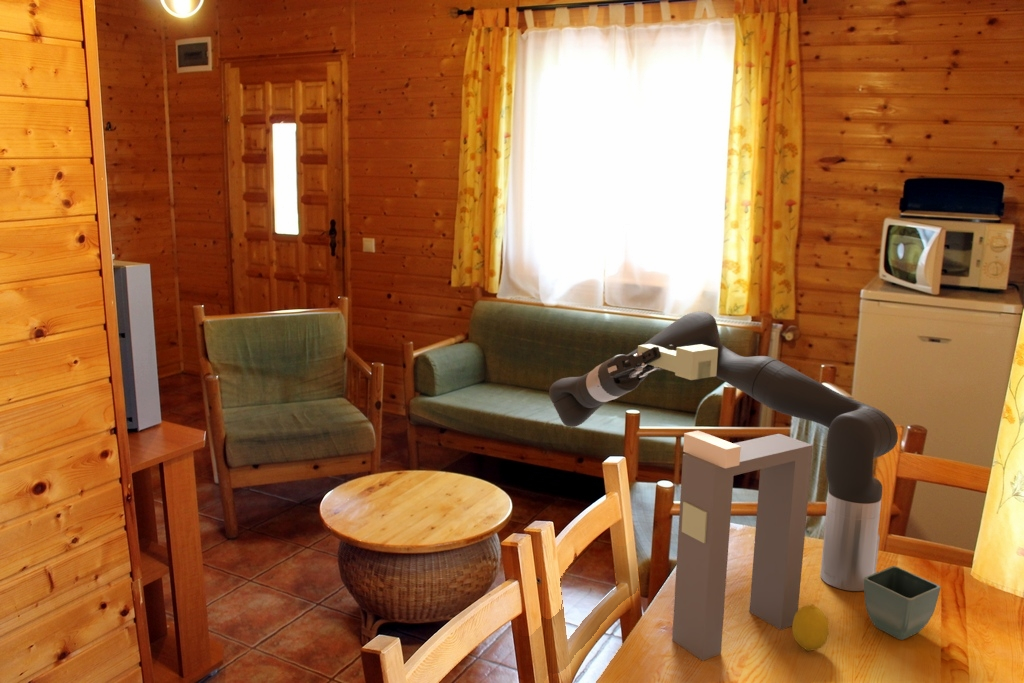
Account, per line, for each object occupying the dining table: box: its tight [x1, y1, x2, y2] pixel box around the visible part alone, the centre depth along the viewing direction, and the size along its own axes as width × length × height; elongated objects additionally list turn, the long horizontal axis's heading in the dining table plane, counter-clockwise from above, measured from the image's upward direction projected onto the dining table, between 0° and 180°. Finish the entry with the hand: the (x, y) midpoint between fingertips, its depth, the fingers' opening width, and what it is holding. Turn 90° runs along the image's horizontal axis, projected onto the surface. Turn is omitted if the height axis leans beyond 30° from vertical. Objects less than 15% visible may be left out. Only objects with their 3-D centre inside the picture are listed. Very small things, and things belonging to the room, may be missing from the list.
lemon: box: [791, 604, 830, 652], centre depth 135 cm, size 6×6×8 cm
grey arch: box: [671, 433, 814, 662], centre depth 138 cm, size 22×7×32 cm, turn 122°
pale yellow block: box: [637, 344, 718, 381], centre depth 152 cm, size 6×16×5 cm, turn 32°
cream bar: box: [682, 430, 741, 468], centre depth 130 cm, size 3×9×3 cm, turn 32°
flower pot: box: [863, 565, 942, 641], centre depth 141 cm, size 9×9×9 cm
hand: (665, 350), depth 154 cm, fingers closed on pale yellow block, 3 cm apart
